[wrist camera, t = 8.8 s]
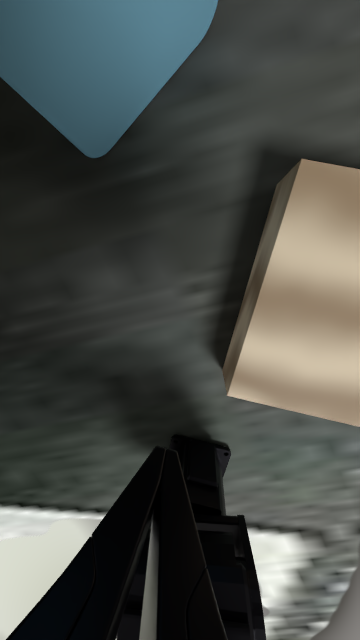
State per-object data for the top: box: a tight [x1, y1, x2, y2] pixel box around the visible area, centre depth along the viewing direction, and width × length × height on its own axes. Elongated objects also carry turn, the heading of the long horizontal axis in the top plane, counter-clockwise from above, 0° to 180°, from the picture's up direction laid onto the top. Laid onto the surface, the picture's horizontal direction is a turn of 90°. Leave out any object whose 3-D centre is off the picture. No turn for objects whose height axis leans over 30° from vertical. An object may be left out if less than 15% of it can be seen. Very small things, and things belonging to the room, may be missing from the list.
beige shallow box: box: [222, 159, 360, 427], centre depth 15 cm, size 16×11×4 cm
